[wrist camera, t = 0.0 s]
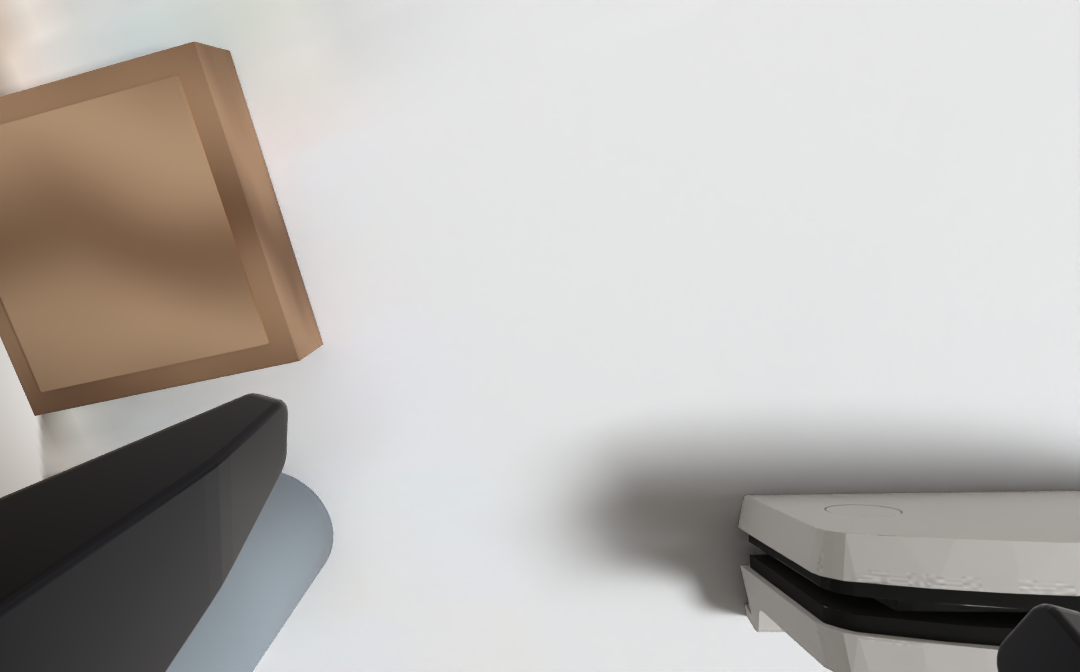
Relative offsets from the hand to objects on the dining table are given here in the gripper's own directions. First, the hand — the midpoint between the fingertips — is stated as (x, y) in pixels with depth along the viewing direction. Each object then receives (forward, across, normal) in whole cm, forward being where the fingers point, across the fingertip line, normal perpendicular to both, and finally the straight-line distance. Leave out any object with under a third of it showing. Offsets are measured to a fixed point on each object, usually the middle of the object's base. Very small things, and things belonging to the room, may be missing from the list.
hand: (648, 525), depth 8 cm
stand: (+14, +16, +6) cm, 23 cm away
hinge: (+14, -14, +9) cm, 22 cm away
